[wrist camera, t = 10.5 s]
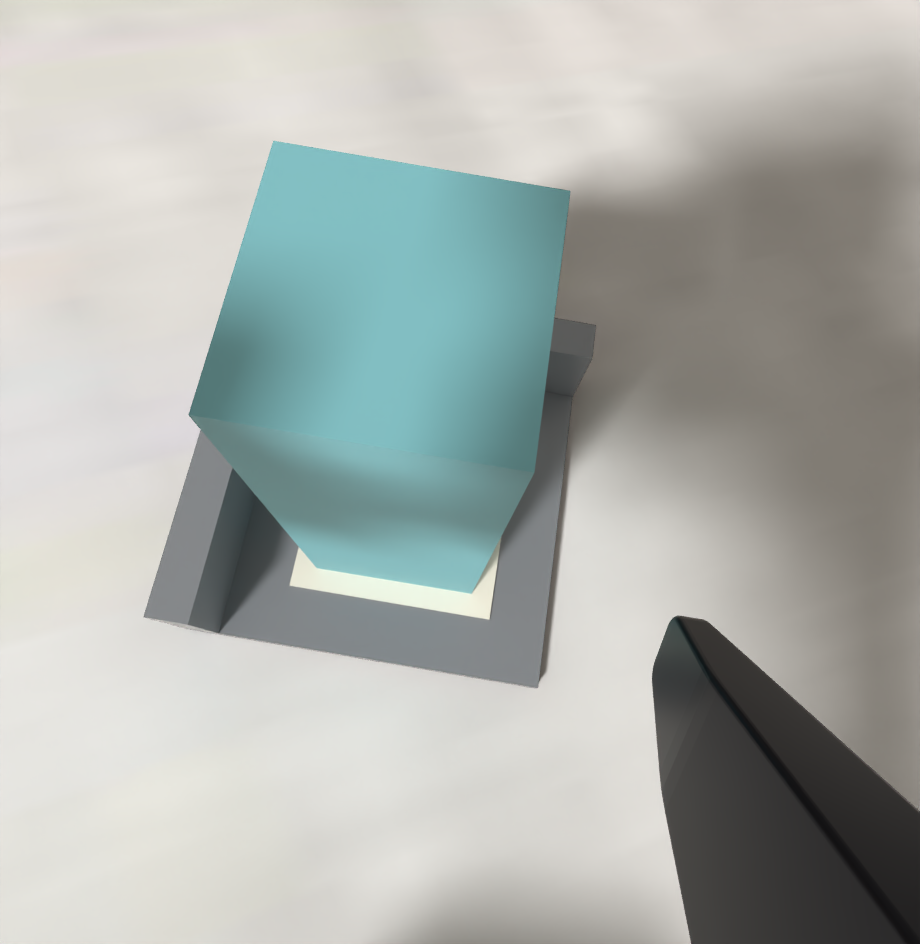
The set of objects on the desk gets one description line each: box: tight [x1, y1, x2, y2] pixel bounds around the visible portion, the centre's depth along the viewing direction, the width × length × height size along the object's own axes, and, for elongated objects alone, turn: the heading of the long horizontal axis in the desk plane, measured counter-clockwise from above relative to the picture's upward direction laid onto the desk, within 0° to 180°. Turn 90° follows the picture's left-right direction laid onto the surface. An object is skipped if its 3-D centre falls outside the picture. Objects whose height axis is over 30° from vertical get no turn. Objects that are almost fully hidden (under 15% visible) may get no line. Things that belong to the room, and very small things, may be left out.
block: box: [189, 141, 570, 594], centre depth 16 cm, size 5×5×12 cm
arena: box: [144, 318, 596, 688], centre depth 21 cm, size 11×11×4 cm
